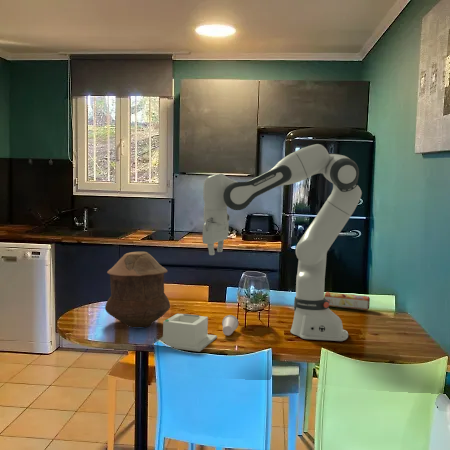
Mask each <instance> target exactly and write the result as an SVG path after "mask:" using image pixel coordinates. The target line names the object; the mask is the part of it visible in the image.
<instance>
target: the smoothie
mask: <svg viewBox="0 0 450 450" xmlns="http://www.w3.org/2000/svg"><path fill="white" fill-rule="evenodd" d="M221 322H222V323H221V325H222V333H223V335H225V336H231V335H232V334H233V333H234V331H236V330H237V328H238V327H239V320H238V318H237V317H236V316H234V315H232V314H229V315H225V316H224V317H223V319H222V321H221Z"/></svg>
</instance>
